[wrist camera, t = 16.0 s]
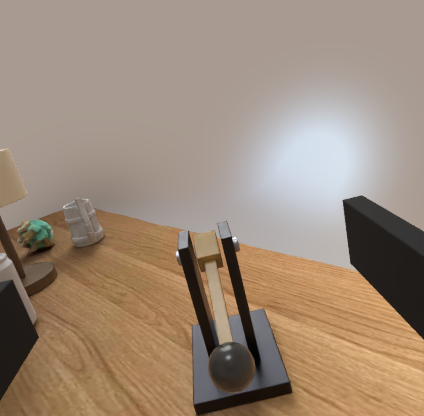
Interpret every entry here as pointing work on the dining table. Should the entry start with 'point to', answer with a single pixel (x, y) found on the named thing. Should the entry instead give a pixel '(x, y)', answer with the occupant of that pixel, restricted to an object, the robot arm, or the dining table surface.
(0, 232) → the lamp
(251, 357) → the lamp switch
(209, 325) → the switch bracket
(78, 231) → the mug
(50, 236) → the scepter
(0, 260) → the beverage can
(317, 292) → the dining table surface
